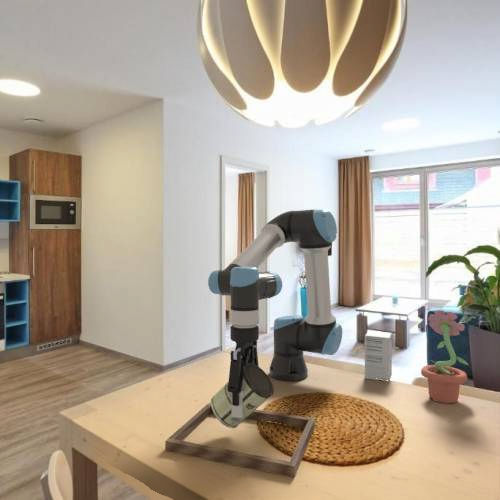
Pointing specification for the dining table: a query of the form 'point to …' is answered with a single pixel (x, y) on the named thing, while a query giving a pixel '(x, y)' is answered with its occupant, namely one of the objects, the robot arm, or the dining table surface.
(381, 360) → the supplement box
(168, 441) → the walnut frame
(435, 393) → the decorative flower
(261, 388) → the coffee can
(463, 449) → the dining table surface
